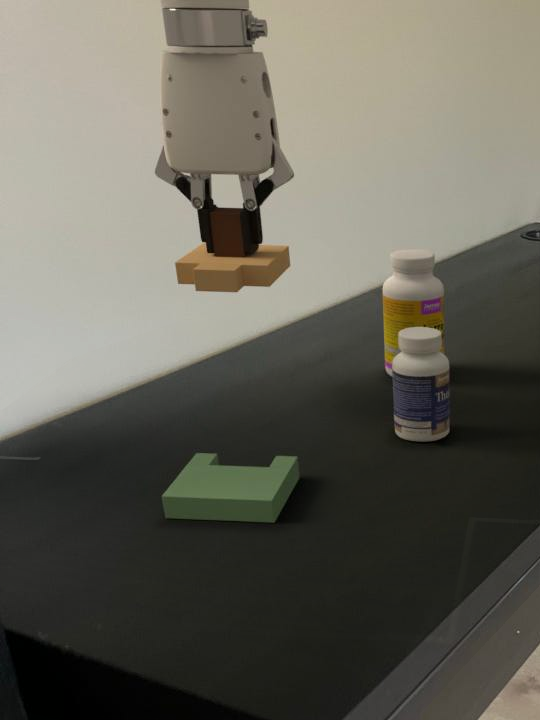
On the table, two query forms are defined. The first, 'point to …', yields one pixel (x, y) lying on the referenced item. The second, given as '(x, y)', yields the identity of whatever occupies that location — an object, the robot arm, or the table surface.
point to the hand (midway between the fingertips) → (233, 249)
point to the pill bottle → (421, 386)
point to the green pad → (231, 490)
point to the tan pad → (231, 259)
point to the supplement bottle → (411, 299)
